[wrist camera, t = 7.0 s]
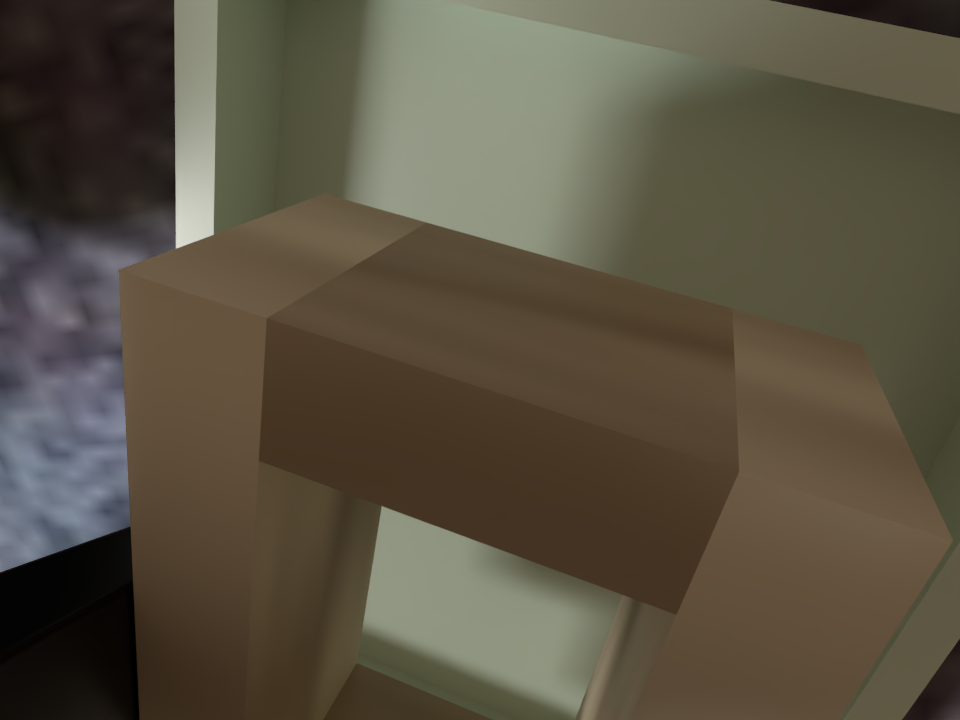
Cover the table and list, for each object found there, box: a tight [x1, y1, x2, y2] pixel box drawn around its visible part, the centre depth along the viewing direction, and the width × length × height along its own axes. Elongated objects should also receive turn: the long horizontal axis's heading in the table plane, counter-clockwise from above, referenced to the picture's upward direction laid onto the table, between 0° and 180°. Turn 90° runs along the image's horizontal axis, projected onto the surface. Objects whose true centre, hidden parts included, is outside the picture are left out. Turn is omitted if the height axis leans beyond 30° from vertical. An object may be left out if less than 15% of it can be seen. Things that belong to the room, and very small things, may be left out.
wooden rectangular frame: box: [119, 194, 953, 720], centre depth 8 cm, size 10×6×3 cm, turn 169°
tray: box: [174, 0, 960, 720], centre depth 11 cm, size 13×11×2 cm
